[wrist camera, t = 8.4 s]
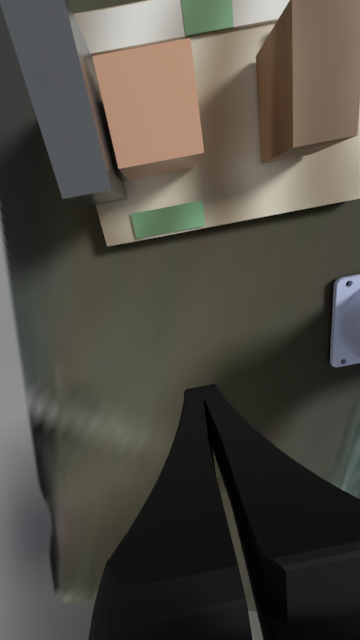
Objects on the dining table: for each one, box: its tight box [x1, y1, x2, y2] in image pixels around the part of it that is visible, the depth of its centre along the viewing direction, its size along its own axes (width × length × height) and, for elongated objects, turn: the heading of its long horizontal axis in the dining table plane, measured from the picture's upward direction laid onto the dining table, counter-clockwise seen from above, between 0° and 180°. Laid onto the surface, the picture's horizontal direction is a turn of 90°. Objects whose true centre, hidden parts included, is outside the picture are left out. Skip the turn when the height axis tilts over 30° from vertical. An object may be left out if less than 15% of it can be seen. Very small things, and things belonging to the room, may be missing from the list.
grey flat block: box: [0, 0, 128, 205], centre depth 12 cm, size 2×6×7 cm, turn 10°
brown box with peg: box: [256, 0, 360, 164], centre depth 13 cm, size 3×6×4 cm, turn 10°
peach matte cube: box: [92, 38, 204, 180], centre depth 13 cm, size 4×4×4 cm
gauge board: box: [74, 0, 360, 247], centre depth 15 cm, size 17×11×1 cm, turn 100°
